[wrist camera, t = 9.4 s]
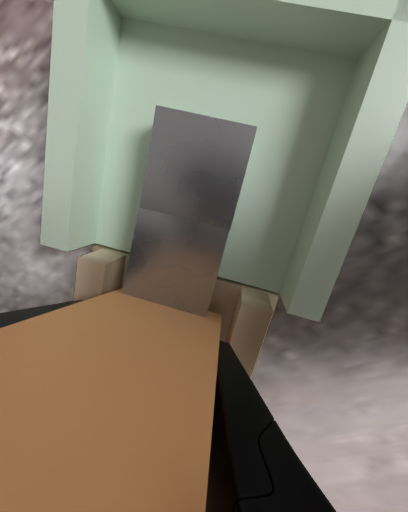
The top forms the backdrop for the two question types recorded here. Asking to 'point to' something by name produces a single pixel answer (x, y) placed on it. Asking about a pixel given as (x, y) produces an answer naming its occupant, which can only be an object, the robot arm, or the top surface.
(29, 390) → the tan rectangular block
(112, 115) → the tray
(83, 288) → the slot board
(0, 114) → the top surface
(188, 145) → the chip
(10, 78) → the top surface
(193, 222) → the chip
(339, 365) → the top surface
